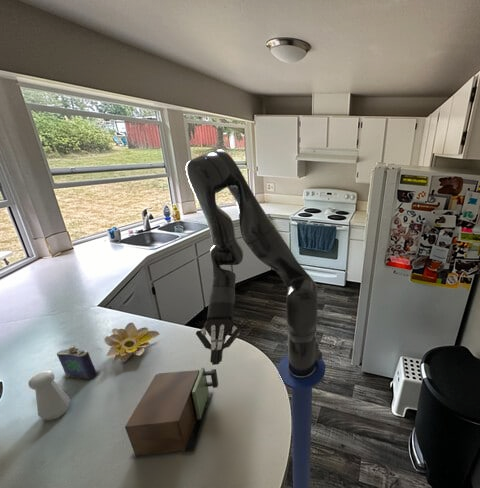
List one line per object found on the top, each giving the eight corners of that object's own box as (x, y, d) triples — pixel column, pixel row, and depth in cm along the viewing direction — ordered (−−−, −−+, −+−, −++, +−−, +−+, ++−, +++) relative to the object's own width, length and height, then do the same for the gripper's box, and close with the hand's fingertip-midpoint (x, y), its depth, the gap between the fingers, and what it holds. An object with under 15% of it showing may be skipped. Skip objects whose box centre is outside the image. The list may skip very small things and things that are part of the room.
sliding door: (220, 392, 73) (216, 366, 69) (213, 418, 66) (208, 390, 62) (206, 393, 72) (201, 367, 69) (197, 419, 65) (191, 392, 62)
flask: (63, 376, 76) (51, 349, 73) (73, 369, 79) (62, 342, 75) (91, 379, 76) (81, 352, 72) (100, 371, 79) (91, 345, 75)
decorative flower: (135, 367, 78) (121, 340, 76) (102, 372, 79) (88, 346, 77) (165, 336, 93) (155, 313, 90) (138, 341, 94) (127, 318, 91)
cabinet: (211, 393, 73) (206, 368, 69) (193, 450, 59) (187, 421, 56) (163, 398, 71) (156, 372, 68) (134, 457, 57) (123, 428, 54)
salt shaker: (45, 428, 63) (25, 390, 58) (38, 415, 65) (18, 379, 61) (75, 409, 67) (59, 373, 63) (68, 398, 70) (52, 363, 66)
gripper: (195, 301, 74) (186, 366, 67) (241, 300, 76) (237, 363, 69) (203, 306, 81) (195, 366, 74) (245, 304, 82) (242, 362, 75)
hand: (215, 364), depth 71 cm, fingers closed
